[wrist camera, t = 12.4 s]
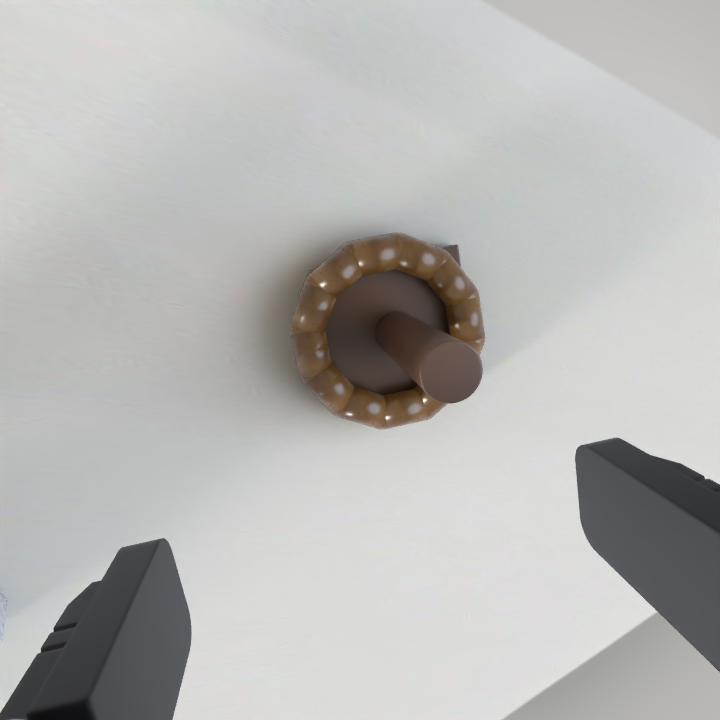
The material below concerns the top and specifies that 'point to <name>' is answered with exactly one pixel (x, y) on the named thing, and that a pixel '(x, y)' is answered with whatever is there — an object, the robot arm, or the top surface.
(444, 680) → the top surface
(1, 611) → the salt shaker
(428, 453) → the top surface
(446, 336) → the peg on square base
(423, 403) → the ring
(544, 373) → the top surface
